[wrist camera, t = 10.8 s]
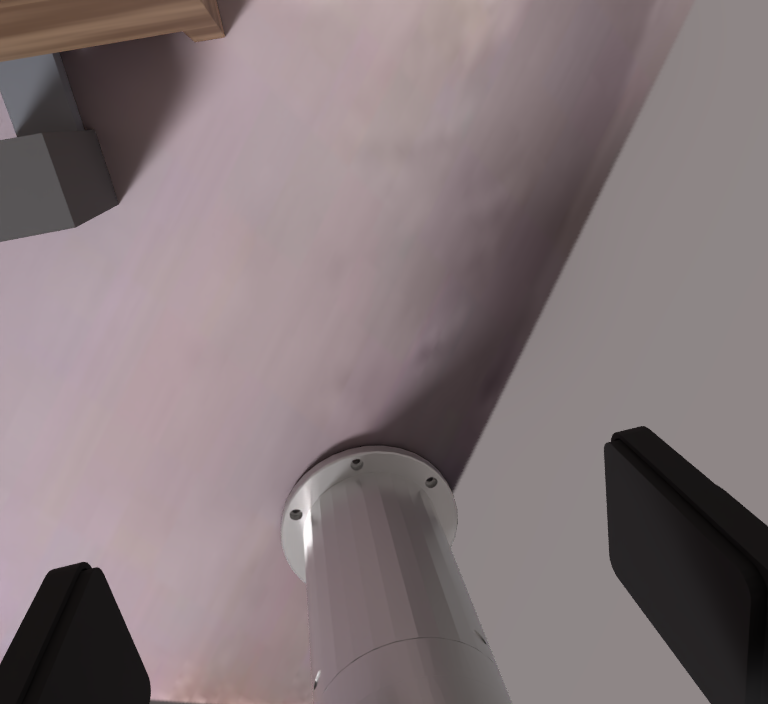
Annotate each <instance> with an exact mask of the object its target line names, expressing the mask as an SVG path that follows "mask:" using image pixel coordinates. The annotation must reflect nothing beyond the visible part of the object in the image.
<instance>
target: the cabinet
mask: <svg viewBox="0 0 768 704" xmlns="http://www.w3.org/2000/svg"><path fill="white" fill-rule="evenodd" d="M181 31H183V32H184V33H185V34H186V35H187V36H188V37H190V38H191V39H192V40H193V41H194V42H200V41H206V40H211V39H217V38H223V37H225V34H224V30H223V26H222V21H221V17H220V13H219V9H218V5H217V0H0V62H4V61H10V60H16V59H21V58H27V57H33V56H39V55H45V54H51V53H57V52H63V51H69V50H75V49H81V48H86V47H92V46H98V45H104V44H110V43H116V42H122V41H128V40H134V39H140V38H146V37H152V36H157V35H163V34H169V33H175V32H181Z"/></svg>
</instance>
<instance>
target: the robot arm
mask: <svg viewBox="0 0 768 704" xmlns="http://www.w3.org/2000/svg"><path fill="white" fill-rule="evenodd" d="M355 459H358V460H356V461H354V460H355ZM604 459H605V479H606V497H607V517H608V537H609V556H610V561H611V565H612V568H613V570H614V572H615V574H616V576H617V577H618V579H619V580H620V581H621V583H622V584H623V585H624V587H625V588H626V589H627V591H628V592H629V593H630V595H631V596H632V598H633V599H634V600H635V602H636V603H637V604H638V606H639V607H640V608H641V610H642V611H643V612H644V614H645V615H646V617H647V618H648V619H649V621H650V622H651V623H652V624H653V626H654V627H655V628H656V630H657V631H658V633H659V634H660V635H661V637H662V638H663V640H664V641H665V642H666V643H667V645H668V646H669V648H670V649H671V650H672V652H673V653H674V654H675V656H676V657H677V658H678V660H679V661H680V663H681V664H682V665H683V667H684V668H685V669H686V671H687V672H688V673H689V675H690V676H691V677H692V679H693V680H694V682H695V683H696V684H697V685H698V687H699V688H700V690H701V691H702V692H703V694H704V695H705V696H706V698H707V699H708V700H709V702H710V703H711V704H768V526H767V525H765V524H764V523H763V522H762V521H761V520H759V519H758V518H757V517H756V516H755V515H753V514H752V513H751V512H750V511H749V510H747V509H746V508H745V507H743V505H741V504H740V503H739V502H738V501H737V500H735V499H734V498H733V497H732V496H731V495H729V494H728V493H727V492H726V491H725V490H723V489H722V488H720V487H719V486H717V485H715V484H714V483H713V482H712V481H711V480H710V479H708V478H707V477H706V476H705V475H704V474H702V473H701V472H700V471H699V470H698V469H696V468H695V467H694V466H693V465H692V464H690V463H689V462H688V461H687V460H685V459H684V458H683V457H682V456H681V455H680V454H678V453H677V452H676V451H675V450H674V449H672V448H671V447H670V446H669V445H668V444H666V443H665V442H664V441H663V440H662V439H660V438H659V437H658V436H657V435H656V434H655V433H653V432H652V431H651V430H650V429H648V428H646V427H645V426H641V427H637V428H632V429H628V430H624V431H620V432H616V433H614V434H613V436H612V438H611V442H608V443H606V444H605V446H604ZM294 509H297V510H294ZM457 524H458V519H457V507H456V503H455V499H454V496H453V494H452V491H451V489H450V487H449V485H448V483H447V481H446V480H445V479H444V477H443V476H442V474H441V473H440V471H439V470H437V469H436V468H435V467H434V466H433V465H432V464H431V463H430V462H429V461H427V460H425V459H424V458H422V457H420V456H419V455H417V454H415V453H412V452H410V451H407V450H404V449H401V448H396V447H390V446H363V447H358V448H352V449H348V450H345V451H342V452H340V453H337V454H334V455H332V456H330V457H328V458H327V459H325V460H323V461H321V462H320V463H318V464H316V465H315V466H314V467H313V468H312V469H310V470H309V471H308V472H307V473H306V474H304V475H303V477H302V478H301V479H300V480H299V481H298V483H297V484H296V485H295V486H294V487H293V489H292V491H291V493H290V495H289V497H288V498H287V500H286V503H285V506H284V510H283V513H282V519H281V544H282V548H283V551H284V555H285V558H286V560H287V562H288V563H289V565H290V567H291V569H292V570H293V572H294V573H295V574H296V575H297V576H298V577H299V578H300V579H301V580H302V581H303V582H304V583H305V584H306V590H307V608H308V626H309V643H310V661H311V679H312V696H313V704H512V701H511V699H510V696H509V694H508V692H507V689H506V687H505V684H504V682H503V679H502V676H501V674H500V671H499V669H498V666H497V664H496V661H495V659H494V656H493V654H492V651H491V649H490V646H489V643H488V641H487V638H486V636H485V634H484V631H483V628H482V626H481V624H480V621H479V618H478V616H477V613H476V611H475V608H474V606H473V603H472V601H471V598H470V596H469V593H468V591H467V588H466V586H465V583H464V581H463V578H462V575H461V573H460V570H459V568H458V565H457V563H456V561H455V558H454V555H453V554H452V551H451V546H452V543H453V541H454V538H455V535H456V529H457ZM150 696H151V688H150V680H149V677H148V674H147V672H146V670H145V667H144V665H143V663H142V660H141V658H140V656H139V653H138V651H137V649H136V647H135V644H134V642H133V640H132V637H131V635H130V633H129V631H128V628H127V626H126V624H125V621H124V619H123V617H122V615H121V612H120V610H119V608H118V605H117V603H116V601H115V599H114V596H113V594H112V592H111V589H110V587H109V585H108V583H107V580H106V578H105V576H104V574H103V572H102V570H101V569H100V568H97V567H96V568H91V566H90V565H89V564H88V563H86V562H81V563H77V564H73V565H69V566H65V567H61V568H57V569H53V570H51V571H49V572H48V574H47V575H46V577H45V578H44V580H43V582H42V584H41V586H40V588H39V590H38V592H37V594H36V596H35V598H34V600H33V602H32V604H31V606H30V608H29V609H28V611H27V613H26V615H25V617H24V619H23V621H22V623H21V625H20V627H19V629H18V631H17V633H16V635H15V637H14V639H13V640H12V642H11V644H10V646H9V648H8V650H7V652H6V654H5V656H4V658H3V660H2V662H1V664H0V704H149V702H150Z"/></svg>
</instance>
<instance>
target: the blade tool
mask: <svg viewBox="0 0 768 704" xmlns="http://www.w3.org/2000/svg"><path fill="white" fill-rule="evenodd" d="M0 92H1V94H2V97H3V100H4V103H5V105H6V108H7V111H8V113H9V116H10V119H11V121H12V124H13V127H14V130H15V132H16V135H17V137H16V138H11V139H5V140H0V242H2V241H7V240H13V239H18V238H23V237H28V236H34V235H39V234H44V233H49V232H55V231H60V230H65V229H70V228H75V227H77V226H79V225H81V224H83V223H85V222H87V221H88V220H90V219H92V218H94V217H96V216H98V215H100V214H102V213H103V212H105V211H107V210H109V209H111V208H113V207H115V206H116V205H118V204H119V203H118V200H117V197H116V194H115V191H114V188H113V185H112V182H111V179H110V176H109V173H108V170H107V166H106V163H105V160H104V157H103V154H102V151H101V148H100V145H99V142H98V139H97V136H96V132H95V130H85V129H84V126H83V123H82V120H81V117H80V114H79V111H78V108H77V105H76V102H75V99H74V96H73V93H72V90H71V87H70V84H69V81H68V78H67V75H66V72H65V69H64V66H63V63H62V60H61V57H60V54H59V52H57V53H51V54H45V55H39V56H33V57H27V58H21V59H16V60H10V61H4V62H0Z"/></svg>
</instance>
